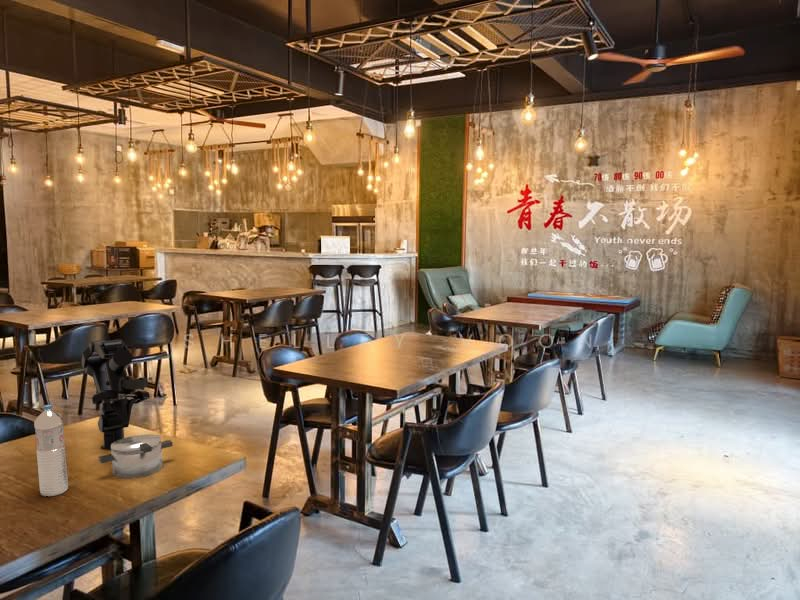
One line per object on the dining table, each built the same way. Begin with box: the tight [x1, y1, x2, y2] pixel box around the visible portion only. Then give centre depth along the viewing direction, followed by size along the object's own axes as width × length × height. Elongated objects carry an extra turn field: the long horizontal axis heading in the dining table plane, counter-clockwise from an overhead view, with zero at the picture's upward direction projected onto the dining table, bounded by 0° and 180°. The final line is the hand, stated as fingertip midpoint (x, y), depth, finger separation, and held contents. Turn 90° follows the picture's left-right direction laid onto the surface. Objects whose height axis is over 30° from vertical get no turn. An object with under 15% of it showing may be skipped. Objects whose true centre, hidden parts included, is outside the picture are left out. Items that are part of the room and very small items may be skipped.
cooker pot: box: [98, 439, 174, 479], centre depth 176 cm, size 15×21×7 cm
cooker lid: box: [110, 434, 162, 453], centre depth 173 cm, size 18×14×2 cm
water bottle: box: [33, 404, 69, 497], centre depth 159 cm, size 7×7×25 cm
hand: (127, 422), depth 181 cm, fingers closed
